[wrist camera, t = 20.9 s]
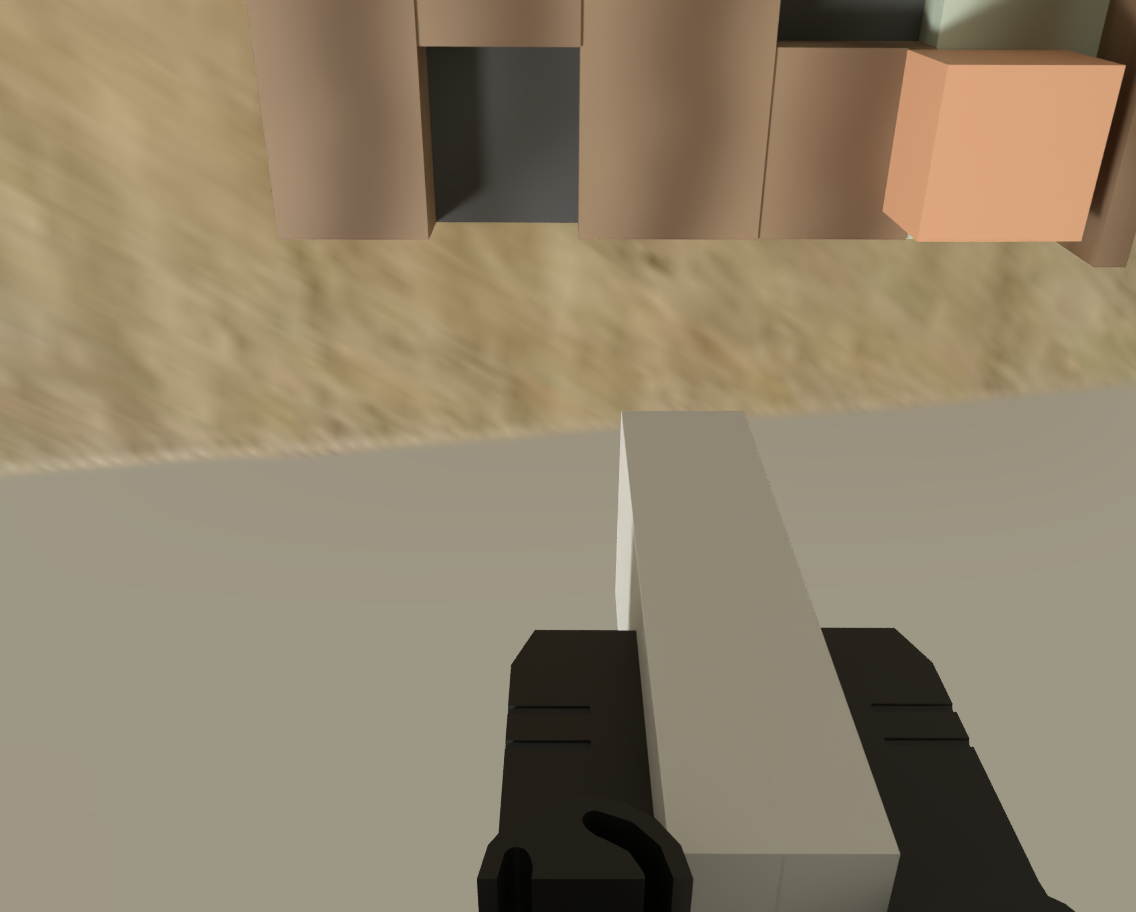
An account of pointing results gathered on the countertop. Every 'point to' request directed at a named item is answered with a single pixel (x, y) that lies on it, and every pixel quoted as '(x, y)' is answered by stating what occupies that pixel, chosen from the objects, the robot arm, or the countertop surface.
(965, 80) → the block
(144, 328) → the countertop surface
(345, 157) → the board
